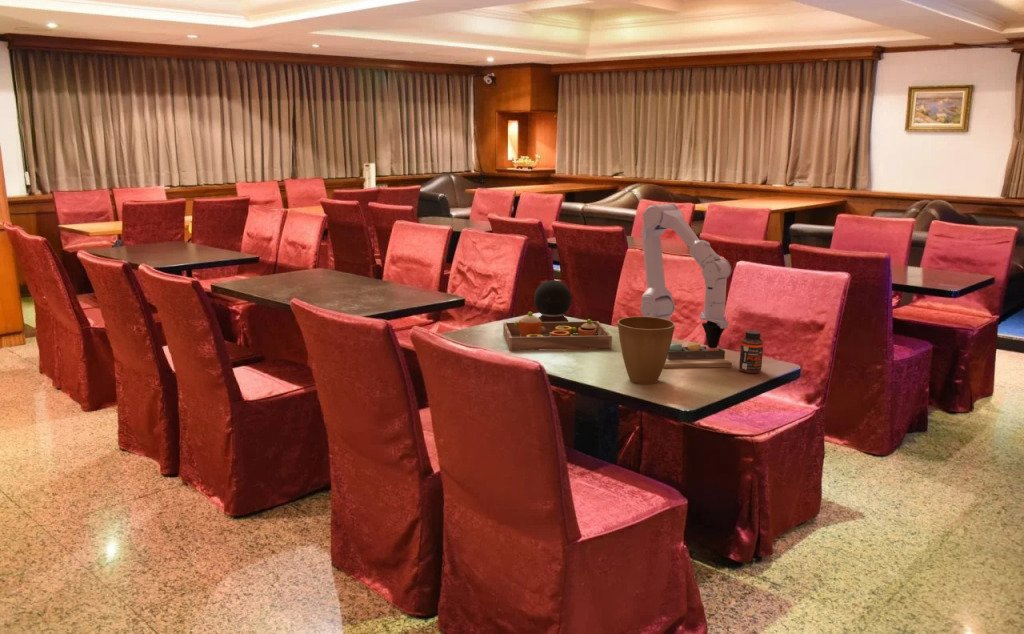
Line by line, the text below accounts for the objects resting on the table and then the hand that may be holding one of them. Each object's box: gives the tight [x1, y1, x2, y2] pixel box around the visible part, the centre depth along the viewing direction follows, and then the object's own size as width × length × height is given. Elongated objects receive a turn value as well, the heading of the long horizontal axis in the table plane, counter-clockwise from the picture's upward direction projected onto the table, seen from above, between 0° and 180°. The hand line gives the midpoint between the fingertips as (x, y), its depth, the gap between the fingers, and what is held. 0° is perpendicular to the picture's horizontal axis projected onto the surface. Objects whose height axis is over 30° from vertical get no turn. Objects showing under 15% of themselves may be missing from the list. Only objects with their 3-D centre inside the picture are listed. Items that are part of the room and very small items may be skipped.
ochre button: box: [687, 342, 701, 351], centre depth 244 cm, size 4×4×2 cm
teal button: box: [669, 342, 683, 351], centre depth 243 cm, size 4×4×2 cm
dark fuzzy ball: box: [533, 279, 573, 322], centre depth 293 cm, size 13×13×15 cm
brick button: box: [706, 345, 720, 351], centre depth 245 cm, size 4×4×2 cm
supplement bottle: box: [739, 329, 764, 374], centre depth 233 cm, size 6×6×11 cm
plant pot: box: [617, 315, 676, 385], centre depth 223 cm, size 15×15×16 cm
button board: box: [663, 345, 733, 369], centre depth 244 cm, size 14×20×4 cm
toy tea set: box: [514, 311, 597, 337], centre depth 267 cm, size 26×16×10 cm, turn 111°
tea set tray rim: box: [502, 320, 613, 352], centre depth 267 cm, size 22×32×4 cm
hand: (712, 347), depth 244 cm, fingers closed, pressing on brick button
